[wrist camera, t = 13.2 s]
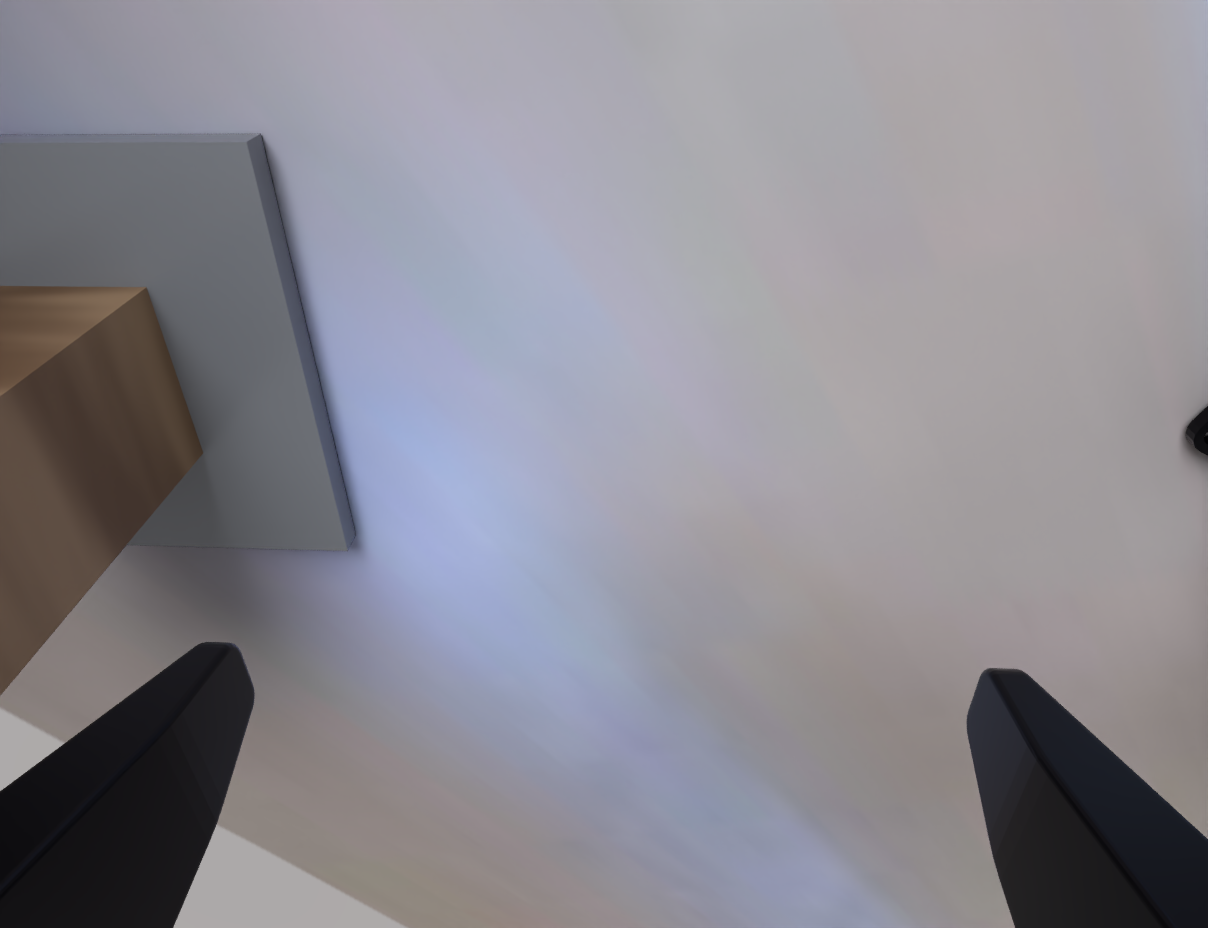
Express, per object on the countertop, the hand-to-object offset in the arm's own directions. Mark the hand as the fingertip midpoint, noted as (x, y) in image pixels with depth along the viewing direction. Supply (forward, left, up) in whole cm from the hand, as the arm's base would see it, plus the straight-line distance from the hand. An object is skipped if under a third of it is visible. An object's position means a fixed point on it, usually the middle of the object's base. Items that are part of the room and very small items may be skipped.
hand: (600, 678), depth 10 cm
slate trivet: (+12, +9, -13) cm, 20 cm away
